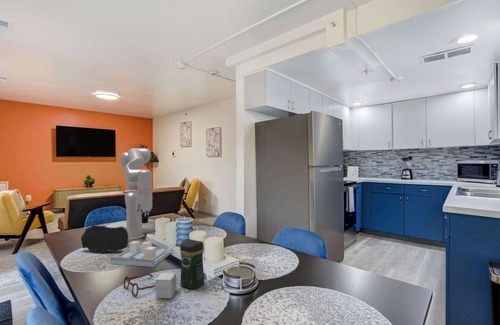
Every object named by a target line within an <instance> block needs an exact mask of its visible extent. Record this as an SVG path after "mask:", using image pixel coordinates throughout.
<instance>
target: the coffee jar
mask: <svg viewBox="0 0 500 325" xmlns="http://www.w3.org/2000/svg"><path fill="white" fill-rule="evenodd" d="M204 251H205V247H204V242H203V241H201V240H197V239H196V240H195V239H190V238H187V239H184V240H181V242H180V247H179V252H180V258H181V261H180V262H181V263H180V264H181V265H180V267H181V268H180V285H181V286H182V287H183V288H187V289H191V290H195V289H199V288H201V287H202V286H203V285H204V284H205V272H204V262H203V261H204V257H203V254H204Z"/></svg>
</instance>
